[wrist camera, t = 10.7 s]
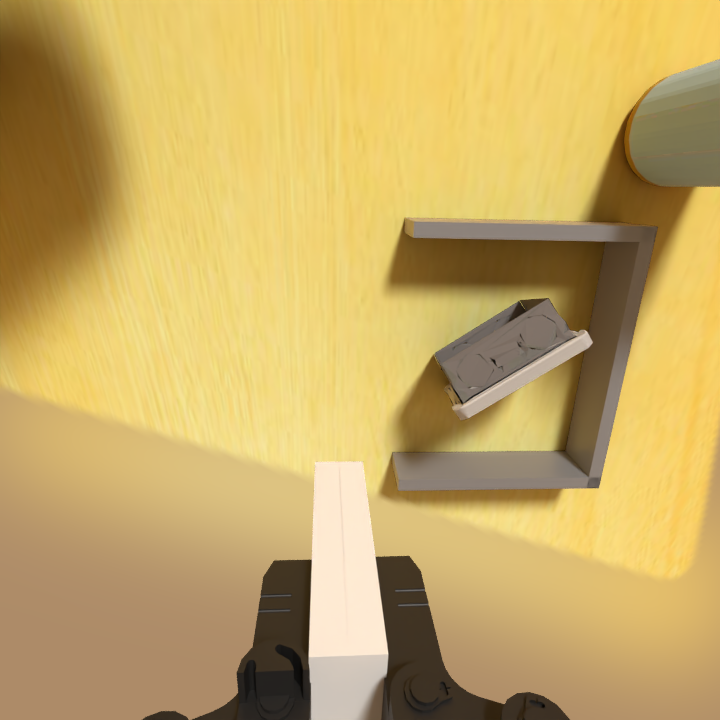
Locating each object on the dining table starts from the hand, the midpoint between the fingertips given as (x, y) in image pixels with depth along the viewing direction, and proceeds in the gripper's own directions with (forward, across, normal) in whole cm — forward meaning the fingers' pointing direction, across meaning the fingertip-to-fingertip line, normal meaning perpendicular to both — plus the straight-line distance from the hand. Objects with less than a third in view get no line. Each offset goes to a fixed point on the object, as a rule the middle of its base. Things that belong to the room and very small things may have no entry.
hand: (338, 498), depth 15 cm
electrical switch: (+22, +12, -2) cm, 25 cm away
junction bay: (+22, +13, -3) cm, 26 cm away
